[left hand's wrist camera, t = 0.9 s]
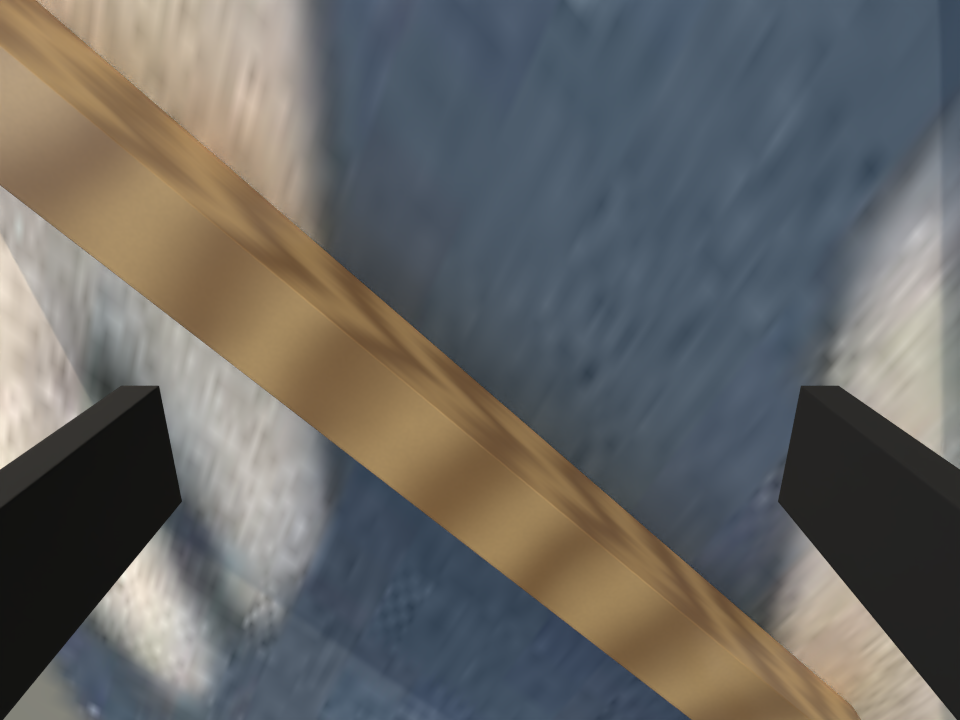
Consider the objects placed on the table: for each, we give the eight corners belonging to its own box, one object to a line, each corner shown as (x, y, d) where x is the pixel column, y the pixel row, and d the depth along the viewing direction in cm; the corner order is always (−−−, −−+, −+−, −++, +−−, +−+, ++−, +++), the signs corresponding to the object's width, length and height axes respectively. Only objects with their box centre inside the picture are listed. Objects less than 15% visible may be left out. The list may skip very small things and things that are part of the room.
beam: (-141, -26, 30) (-340, -77, 23) (-97, -115, 29) (-292, -199, 22) (800, 740, 48) (856, 847, 41) (852, 706, 47) (920, 811, 40)
